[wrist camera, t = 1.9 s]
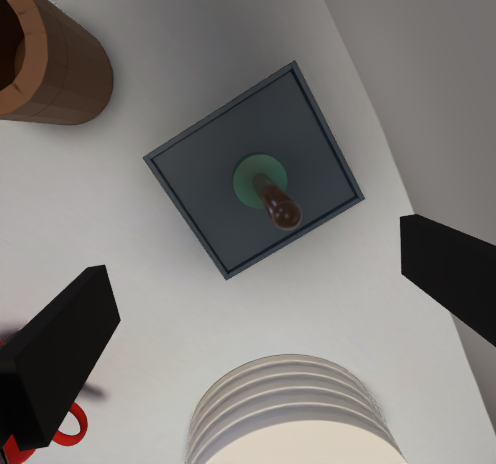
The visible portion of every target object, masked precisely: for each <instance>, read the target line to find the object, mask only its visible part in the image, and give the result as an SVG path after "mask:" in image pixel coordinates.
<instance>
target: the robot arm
mask: <svg viewBox="0 0 496 464" xmlns="http://www.w3.org/2000/svg"><path fill="white" fill-rule="evenodd" d="M400 238H401V274H402V275H404V276H405V277H406V278H407V279H409V280H410V281H411V282H413V283H414V284H415V285H416V286H418V287H419V288H420V289H422V290H423V291H424V292H425V293H427V294H428V295H429V296H431V297H432V298H433V299H434V300H436V301H437V302H438V303H440V304H441V305H442V306H443V307H445V308H446V309H447V310H449V311H450V312H451V313H452V314H454V315H455V316H456V317H458V318H459V319H460V320H461V321H463V322H464V323H465V324H467V325H468V326H469V327H471V328H472V329H473V330H474V331H476V332H477V333H478V334H479V335H481V336H482V337H483V338H485V339H486V340H487V341H488V342H490V343H491V344H492V345H494V346H495V347H496V246H495V245H492V244H490V243H488V242H485V241H483V240H480V239H478V238H475V237H473V236H470V235H468V234H465V233H463V232H460V231H458V230H455V229H453V228H450V227H448V226H445V225H443V224H440V223H437V222H435V221H433V220H430V219H428V218H425V217H423V216H420V215H418V214H414V215H408V216H402V217H400ZM120 321H121V319H120V316H119V312H118V309H117V305H116V302H115V298H114V295H113V291H112V288H111V284H110V281H109V277H108V274H107V270H106V266H105V265H99V266H93V267H87V268H86V269H85V270H84V271H83V272H82V273H81V274H80V275H79V276H78V277H77V278H76V279H75V280H73V281H72V282H71V283H70V284H69V285H68V286H67V287H66V288H65V289H64V290H63V291H62V292H61V293H60V294H59V295H57V296H56V297H55V298H54V299H53V300H52V301H51V302H50V303H49V304H48V305H47V306H46V307H45V308H44V309H43V310H42V311H40V312H39V313H38V314H37V315H36V316H35V317H34V318H33V319H32V320H31V321H30V322H29V323H28V324H27V325H26V326H24V327H23V328H22V329H21V330H20V331H18V332H17V333H15V334H14V335H12V336H10V337H9V338H8V339H7V340H6V341H5V342H4V343H3V344H2V345H1V346H0V464H9V461H8V458H7V456H6V453H5V451H4V449H3V446H4V445H5V443H6V442H7V441H8V439H9V438H10V436H11V435H13V437H14V439H15V442H16V444H17V446H18V449H19V451H26V450H32V449H38V448H43V447H48V446H49V444H50V442H51V441H52V439H53V437H54V435H55V434H56V432H57V430H58V429H59V427H60V425H61V423H62V422H63V420H64V418H65V416H66V415H67V413H68V411H69V409H70V408H71V406H72V404H73V402H74V401H75V399H76V397H77V396H78V394H79V392H80V390H81V389H82V387H83V385H84V383H85V382H86V380H87V378H88V376H89V375H90V373H91V371H92V369H93V368H94V366H95V364H96V362H97V361H98V359H99V357H100V356H101V354H102V352H103V350H104V349H105V347H106V345H107V343H108V342H109V340H110V338H111V336H112V335H113V333H114V331H115V329H116V328H117V326H118V324H119V323H120Z"/></svg>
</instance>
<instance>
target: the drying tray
mask: <svg viewBox="0 0 496 464" xmlns="http://www.w3.org/2000/svg"><path fill="white" fill-rule="evenodd" d="M255 152H260V153H265V154H267V155H270V156H272V157H274V158H276V159H277V160H278V161H279V162H280V163H281V164H282V165H283V167H284V168H285V170H286V173H287V179H288V183H287V189H286V192H285V194H287V195H288V196H289V197H290V198H291V199H292V200H293V201H294V202H295V203H296V204H297V205H298V206H299V207H300V209H301V212H302V219H301V222H300V223H299V225H298V226H297V227H296V228H294V229H292V230H282V229H279V228H278V227H277V226H276V225H275V224H274V223H273V221H272V219H271V217H270V216H269V214H268V212H267V210H266V208H265V209H254V208H251V207H248V206H246V205H245V204H243V203H242V202H241V201H240V200H239V199H238V197H237V196H236V194H235V191H234V188H233V182H232V174H233V170H234V167H235V165H236V164H237V162H238V161H239V160H240V159H241V158H242V157H244V156H245V155H247V154H250V153H255ZM143 159H144V160H145V162H146V163H147V165H148V166H149V168H150V169H151V171H152V172H153V174H154V175H155V177H156V178H157V180H158V181H159V183H160V184H161V185H162V187H163V188H164V190H165V191H166V193H167V194H168V196H169V197H170V199H171V200H172V202H173V203H174V205H175V206H176V207H177V209H178V210H179V212H180V213H181V215H182V216H183V218H184V219H185V221H186V222H187V224H188V225H189V227H190V228H191V230H192V231H193V232H194V234H195V235H196V237H197V238H198V240H199V241H200V243H201V244H202V246H203V247H204V249H205V250H206V252H207V253H208V254H209V256H210V257H211V259H212V260H213V262H214V263H215V265H216V266H217V268H218V269H219V271H220V272H221V274H222V275H223V277H224V278H225V279H226V280H228V279H230V278H232V277H233V276H235V275H237V274H238V273H240V272H242V271H244V270H245V269H247V268H249V267H250V266H252V265H254V264H255V263H257V262H259V261H260V260H262V259H264V258H266V257H267V256H269V255H271V254H272V253H274V252H276V251H277V250H279V249H281V248H283V247H284V246H286V245H288V244H289V243H291V242H293V241H294V240H296V239H298V238H300V237H301V236H303V235H305V234H306V233H308V232H310V231H311V230H313V229H315V228H317V227H318V226H320V225H322V224H323V223H325V222H327V221H328V220H330V219H332V218H334V217H335V216H337V215H339V214H340V213H342V212H344V211H345V210H347V209H349V208H351V207H352V206H354V205H356V204H357V203H359V202H360V201H362V200H364V199H365V197H364V195H363V194H362V192H361V190H360V188H359V186H358V184H357V182H356V180H355V178H354V176H353V174H352V172H351V170H350V168H349V166H348V164H347V162H346V160H345V158H344V156H343V154H342V152H341V150H340V148H339V146H338V144H337V142H336V140H335V138H334V136H333V134H332V132H331V130H330V128H329V126H328V124H327V122H326V120H325V118H324V116H323V114H322V113H321V111H320V109H319V107H318V105H317V103H316V101H315V99H314V97H313V95H312V93H311V91H310V89H309V87H308V85H307V83H306V81H305V79H304V77H303V75H302V73H301V71H300V69H299V67H298V65H297V63H296V61H295V60H294V61H293V62H291V63H290V64H288V65H287V66H285V67H283V68H282V69H280V70H279V71H277V72H276V73H274V74H272V75H271V76H269V77H268V78H266V79H265V80H263V81H262V82H260V83H258V84H257V85H255V86H254V87H252V88H251V89H249V90H247V91H246V92H244V93H243V94H241V95H240V96H238V97H237V98H235V99H233V100H232V101H230V102H229V103H227V104H226V105H224V106H222V107H221V108H219V109H218V110H216V111H215V112H213V113H212V114H210V115H208V116H207V117H205V118H204V119H202V120H201V121H199V122H197V123H196V124H194V125H193V126H191V127H190V128H188V129H187V130H185V131H183V132H182V133H180V134H179V135H177V136H176V137H174V138H172V139H171V140H169V141H168V142H166V143H165V144H163V145H161V146H160V147H158V148H157V149H155V150H154V151H152V152H151V153H149V154H148V155H146V156H144V157H143Z"/></svg>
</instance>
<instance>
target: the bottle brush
mask: <svg viewBox="0 0 496 464" xmlns="http://www.w3.org/2000/svg"><path fill="white" fill-rule="evenodd" d="M232 182H233V188H234V191H235V194H236V196H237V197H238V199H239V200H240V201H241V202H242V203H243V204H245V205H246V206H248V207H251V208H254V209H265V208H266V210H267V212H268V214H269V216H270V217H271V219H272V221H273V223H274V224H275V225H276V226H277V227H278V228H279V229H282V230H292V229H294V228H296V227H297V226H298V225H299V223H300V222H301V219H302V212H301V209H300V207H299V206H298V205H297V204H296V203H295V202H294V201H293V200H292V199H291V198H290V197H289V196H288V195H287V194H285V192H286V189H287V183H288V179H287V173H286V170H285V168H284V167H283V165H282V164H281V163H280V162H279V161H278V160H277V159H276V158H274V157H272V156H270V155H267V154H265V153H260V152H255V153H250V154H247V155H245V156H244V157H242V158H241V159H240V160H239V161H238V162H237V164H236V165H235V167H234V170H233V174H232Z"/></svg>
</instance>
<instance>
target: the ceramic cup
mask: <svg viewBox="0 0 496 464" xmlns="http://www.w3.org/2000/svg"><path fill="white" fill-rule="evenodd" d="M3 343H4V342H0V346H1V345H2V344H3ZM69 412H71V413H72V414H73V415H74V416H75V417H76V419H77V420H78V422H79V425H80V433H78V434H77V435H73V436H72V435H66V434H63V433H62V432H60V431H59V430H57V432H56V434H55V435H54V437H53V439H52V440H53V441H54V442H56V443H57V444H60V445H63V446H72V445H75V444H77V443H78V442H80V441H81V440H82V439H83V437H84V436H85V434H86V431H87V427H88V422H87V417H86V415H85V413H84V411H83V410H82V409H81V408H80V407H79V406H78V405H77V404H76V403H75V402H73V404H72V406H71V408H70V409H69ZM3 449H4V451H5V453H6V456H7V458H8V461H9V464H21V463H23V462H24V461H26V460H27V459H28V458H29V457H30V456H31V455H32V454H33V453H34V452H35V450H36V449H32V450H26V451H19V449H18V446H17V444H16V442H15V439H14V437H13V435H11V436H10V438H9V439H8V441H7V442H6V443H5V445H4V446H3Z"/></svg>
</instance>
